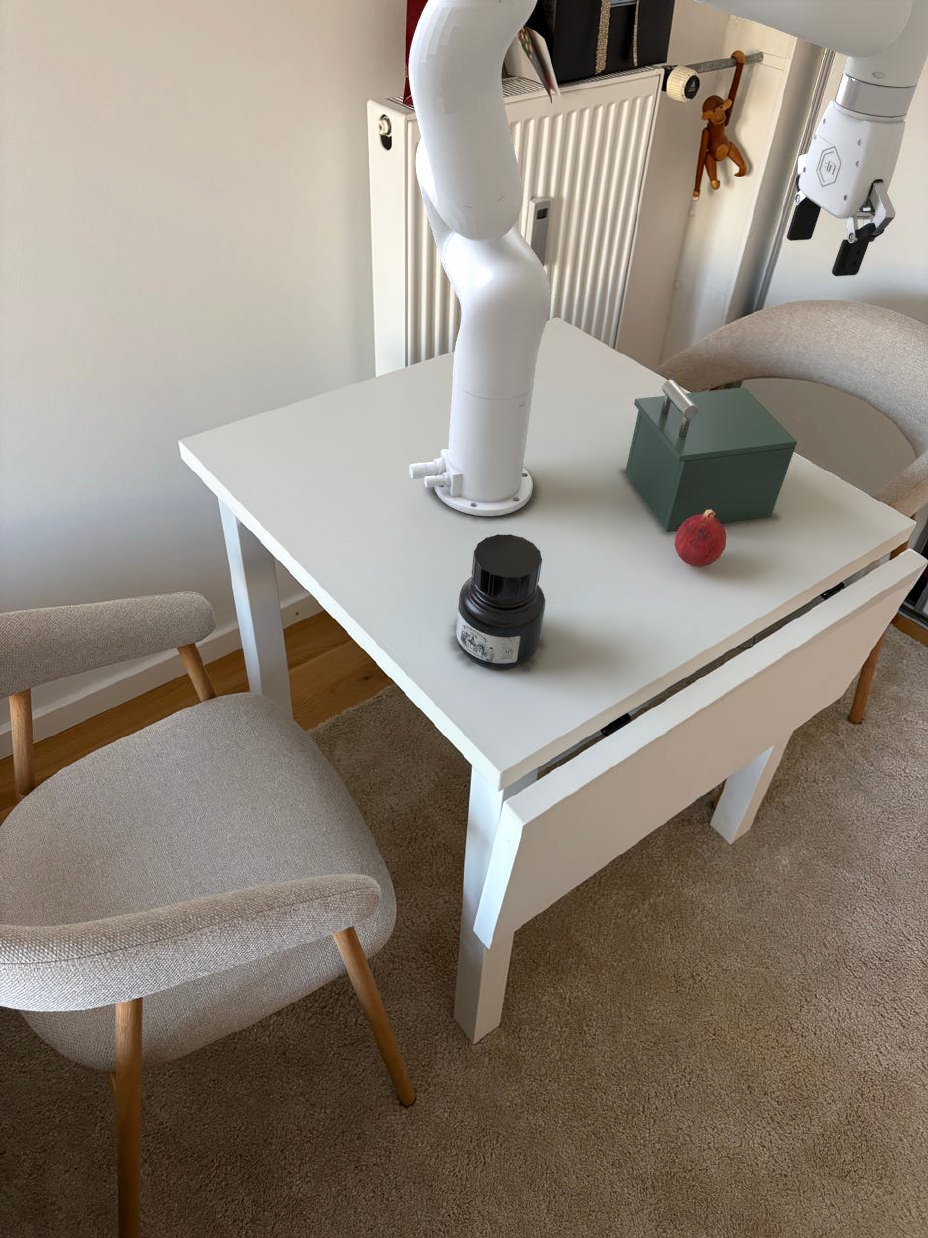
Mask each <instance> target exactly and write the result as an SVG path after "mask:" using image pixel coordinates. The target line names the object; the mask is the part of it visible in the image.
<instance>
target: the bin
mask: <svg viewBox="0 0 928 1238" xmlns="http://www.w3.org/2000/svg"><path fill="white" fill-rule="evenodd" d="M636 415H637V416H636V420H635V424H634V430H633V435H632V438H631V442H630V443H631V444H630V448H629V452H628V458H627V462H626V467H625V471H624V473H625V474H626V476H627V478H628V479H629V480H630V482H631V484H632V485H633V486H634V488H635V489H636V491H637V492H638V493H639V494H640V496H641V498H642V499H643V500H644V502H645V503H646V504H647V506H648V507H649V509H650V510H651V511H652V513H653V514H654V516H655V517H656V519H657V520H658V521H659V523H660V524H661V526H662V527H663V528H664V530H665V532H672V531H678V529H679V527H680V526H681V524H682V523H683V522H684V521H685V520H686V519H688V518H690V517H692V516H694V515H698V514H703V513H704V512H705V511H706V510H710V509H711V510H713V511H714V512H715V516H714V517H715V518H716V519H717V520H718V521H719V522H720V523H721V524H726V523H727V524H728V523H733V522H735V523H736V522H740V521H742V522H743V521H747V520H755V519H761V518H768V517H772V515H773V511H774V509H775V507H776V503H777V500H778V498H779V494H780V492H781V489H782V487H783V484H784V481H785V477H786V475H787V473H788V470H789V466H790V464H791V461H792V458H793V455H794V452H795V450H796V447H792V448H784V449H776V450H768V451H760V452H752V453H744V454H736V455H728V456H720V457H712V458H704V459H696V460H688V461H680V462H679V461H678V460H677V459H676V457H675V456H674V455H673V454H672V452H671V451H670V450H669V448H668V447H667V446H666V445H665V443H664V442H663V441H662V439H661V438H660V437H659V436H658V434H657V433H656V432H655V430H654V429H653V428H652V427H651V425H650V424H649V423H648V421H647V420H646V419H645V418H644V416H643V415H642V414H641V412H640V411H639V410H637V414H636Z"/></svg>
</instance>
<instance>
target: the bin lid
mask: <svg viewBox="0 0 928 1238" xmlns="http://www.w3.org/2000/svg"><path fill="white" fill-rule="evenodd" d="M661 390H662V392H663V393H664V395H658V396H648V397H641V398H635V399H634V402H633V405H634V406H635V407H636V409H637V411H640V412H641V414H642V415H643V416H644V418H645V419H646V420H647V421H648V423H649V424H650V425H651V427H652V428H653V429H654V430H655V432H656V433H657V434H658V436H659V437H660V438H661V439H662V441H663V442H664V443H665V445H666V446H667V447H668V448H669V450H670V451H671V452H672V454H673V455H674V456H675V457H676V459H677V460H678V461H679V462H680V461H688V460H696V459H704V458H712V457H720V456H728V455H736V454H744V453H752V452H760V451H768V450H776V449H784V448H792V447H795V448H796V446H797V443H798V441H797V440H796V439H795V438H794V437H793V435H791V434H790V432H789V431H788V430H787V429H786V428H785V427H784V426H783V425H782V424H781V422H779V421H778V420H777V418H775V416H773V415H772V413H771V412H770V411H769V410H768V409H767V408H766V407H765V406H764V405H763V404H762V403H761V402H760V400H759V399H758V398H756V397H755V396H754V395H753V393H752V392H751V391H750V390H749V389H748V388H747V387H746V386H744V387H743V386H742V387H735V388H725V389H724V388H723V389H715V390H706V391H695V392H685V391H684V390H683V389H682V388H681V386H680V385H679V384H678V383H677V382H676V380H674V379H668V380H666V381H665V382H664V383H663V384H662V386H661Z"/></svg>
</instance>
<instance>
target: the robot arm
mask: <svg viewBox="0 0 928 1238" xmlns="http://www.w3.org/2000/svg"><path fill="white" fill-rule="evenodd" d="M693 1H695V2H697V3H700V4H703V5H705V6H707V7H710V8H712V9H715V10H717V11H719V12H722V13H725V14H728V15H731V16H735V17H739V18H742V19H746V20H749V21H752V22H755V23H758V24H761V25H763V26H767V27H768V28H771V29H774V30H777V31H779V32H781V33H784V34H786V35H789V36H792V37H794V38H796V39H799V40H801V41H805V42H807V43H810V44H813V45H816V46H819V47H822V48H824V49H827V50H829V51H831V52H832V51H833V52H834V53H838V54H840V55H844V56H846V61H845V65H844V68H843V71H842V75H841V78H840V81H839V84H838V88H837V92H836V94H835V98H834V97H833V98H832V99H831V100H830V101H829V103H828V104H827V107H826V108H825V111H824V112H823V115H822V117H821V119H820V121H819V123H818V125H817V128H816V131H815V132H814V135H813V138H812V139H811V143H810V145H809V149H808V151H807V152H806V153H804V154H801V155H799V156H798V158H797V176H796V178H795V187H796V194H795V195H794V204H796V205H795V208H794V211H793V214H792V217H791V221H790V224H789V227H788V230H787V234H786V239H787V240H788V241H790V242H792V241H795V242H796V241H808V240H811V239H812V238H813V235H814V232H815V229H816V227H817V226H816V225H817V223H818V220H819V217H820V214H821V211H822V209H823V210H824V211H825V212H826V213H828V214H830V215H832V217H834V218H837V219H840V220H843V219H844V220H845V223H846V234H847V235H846V236H847V238H846V239H845V238H844V239H842V241H841V243H840V246H839V249H838V252H837V254H836V257H835V259H834V263H833V266H832V269H831V274H832V275H833V276H834V277H849V276H856V275H858V273H859V272H860V269H861V266H862V263H863V261H864V258H865V255H866V253H867V250H868V247H869V244H870V243H873V242H875V240H876V238H878V237H879V236H881V235H883V234H884V232H885V231H886V230H885V229H886V228H887V227H888V226H889V225H890V224H891V223H892V221H893V220H894V219H895V217H896V211H895V208H894V205H893V203H892V200H891V198H890V197H889V195H888V191H889V188H890V185H891V182H892V179H893V176H894V173H895V169H896V166H897V163H898V159H899V154H900V150H901V147H902V143H903V137H904V134H905V127H906V121H905V120H906V117H907V115H908V113H909V110H910V106H911V104H912V101H913V99H914V95H915V92H916V90H917V87H918V83H919V80H920V77H921V75H922V72H923V70H924V67H925V64H926V61H927V59H928V0H693ZM537 2H538V0H428V1H427V2H426V3H425V6H424V8H423V10H422V11H421V15H420V18H419V19H418V22H417V25H416V28H415V31H414V33H413V37H412V40H411V45H410V50H409V58H408V80H409V81H408V82H409V88H410V93H411V94H410V95H411V98H412V104H413V108H414V111H415V116H416V120H417V125H418V128H419V134H420V140H419V142H418V145H417V149H416V154H415V172H416V178H417V183H418V186H419V191H420V193H421V198H422V201H423V204H424V209H425V211H426V215H427V219H428V222H429V226H430V228H431V232H432V235H433V238H434V242H435V245H436V249H437V253H438V255H439V258H440V261H441V264H442V267H443V270H444V272H445V274H446V276H447V278H448V280H449V282H450V284H451V286H452V288H453V290H454V292H455V295H456V297H457V298H458V301H459V303H460V304H459V305H460V309H461V321H460V325H459V326H460V327H459V330H458V333H457V337H456V342H455V347H454V354H453V363H452V364H453V366H452V388H451V403H450V415H449V416H450V418H449V433H448V446H447V447H448V448H445V449H443V448H442V449H440V457H438V458H434V459H433V461H429V462H417V463H410V464H409V467H408V470H409V471H408V472H409V477H410V479H411V480H417V479H418V480H419V479H423V482H424V483H423V484H424V487H425V488H426V489H427V488H434V491H435V493H436V495H437V497H438V498H439V499H440V500H441V501H442V502H443V503H444V504H446V505H447V506H449V507H451V508H452V509H454V510H456V511H459V512H462V513H463V514H468V515H473V516H479V517H497V516H504V515H507V514H510V513H511V514H512V513H513V512H516V511H518V510H520V509H521V508H523V507H524V506H525V505H526V504H527V503H528V502H530V499H531V497H532V494H533V488H534V483H533V478H532V475H531V474H530V473H529V471H528V470H527V469H526V468H525V467H524V463H525V455H526V448H527V440H528V432H529V426H530V425H529V424H530V415H531V408H532V402H533V395H534V394H533V393H534V385H535V375H536V368H537V362H538V355H539V349H540V345H541V341H542V338H543V334H544V331H545V328H546V325H547V321H548V318H549V315H550V310H551V305H552V291H551V285H550V284H551V283H550V280H549V277H548V275H547V271H546V269H545V267H544V265H543V263H542V262H541V260H540V259H539V257H538V255H537V254H536V252H535V251H534V250H533V249H532V247H531V245H530V244H529V243H528V242H527V240H526V239H525V238H524V236H523V235H522V233H521V232H520V230H519V228H518V225H517V221H518V219H519V217H520V214H521V211H522V207H523V203H524V195H523V194H524V184H523V179H522V174H521V170H520V166H519V163H518V162H519V161H518V158H517V155H516V151H515V147H514V143H513V138H512V133H511V129H510V125H509V120H508V115H507V109H506V103H505V98H504V97H505V96H504V90H503V80H502V73H503V72H502V70H503V66H504V65H503V64H504V60H505V58H506V55H507V53H508V50H509V48H510V46H511V44H512V43H513V41H514V40H515V38H516V36H517V35H518V33H519V32H520V31H521V30H522V28H523V27H524V26H525V25H526V23H527V22H528V20H529V19H530V17H531V15H532V13H533V12H534V10H535V8H536V5H537ZM859 220H862V223H863V224H862V225H863V226H861V227H860V228H859Z"/></svg>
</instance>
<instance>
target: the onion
mask: <svg viewBox="0 0 928 1238" xmlns="http://www.w3.org/2000/svg"><path fill="white" fill-rule="evenodd" d="M714 516H715V512H714V511H713V510H711V509H710V510H706V511H705V512H704V513H703V514H698V515H694V516H692V517H690V518H688V519H686V520H685V521H684V522H683V523H682V524H681V526H680V527H679V529H678V530H676V533H675V537H674V547H675V550H676V554H677V555H678V557H679V558H680V560H682V561H683V562H684V563H685V564H686V565H689V566H691V567H695V568H700V567H705V566H709V565H711V564H713V563H714V562H716V561H717V560H719V559H720V558H721V556H722V554H723V553H724V551H725V549H726V546H727V532H726V529H725V527H724V525H723V523H720V522H719V521H718V520H717V519H716V518H715V517H714Z"/></svg>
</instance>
